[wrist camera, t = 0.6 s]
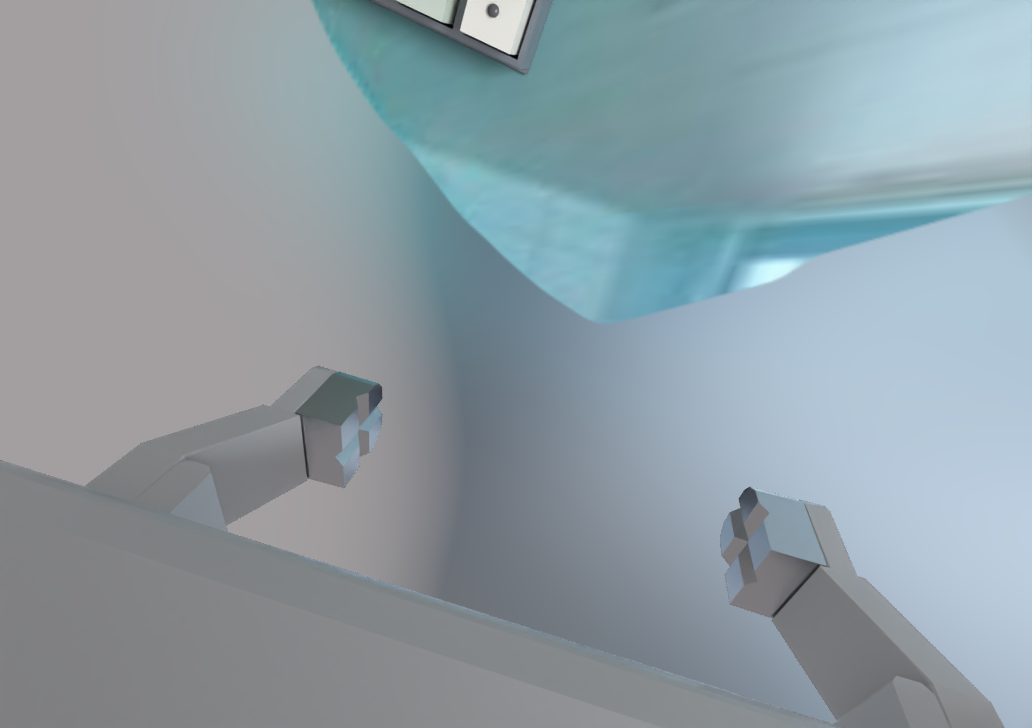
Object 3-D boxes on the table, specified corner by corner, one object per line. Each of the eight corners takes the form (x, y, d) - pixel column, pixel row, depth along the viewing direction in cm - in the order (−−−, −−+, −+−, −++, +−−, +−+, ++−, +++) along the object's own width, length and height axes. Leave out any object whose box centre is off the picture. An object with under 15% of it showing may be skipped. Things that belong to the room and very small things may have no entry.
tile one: (489, -29, 39) (476, -37, 36) (538, -5, 39) (529, -11, 36) (472, 33, 42) (458, 30, 39) (518, 54, 42) (508, 54, 39)
